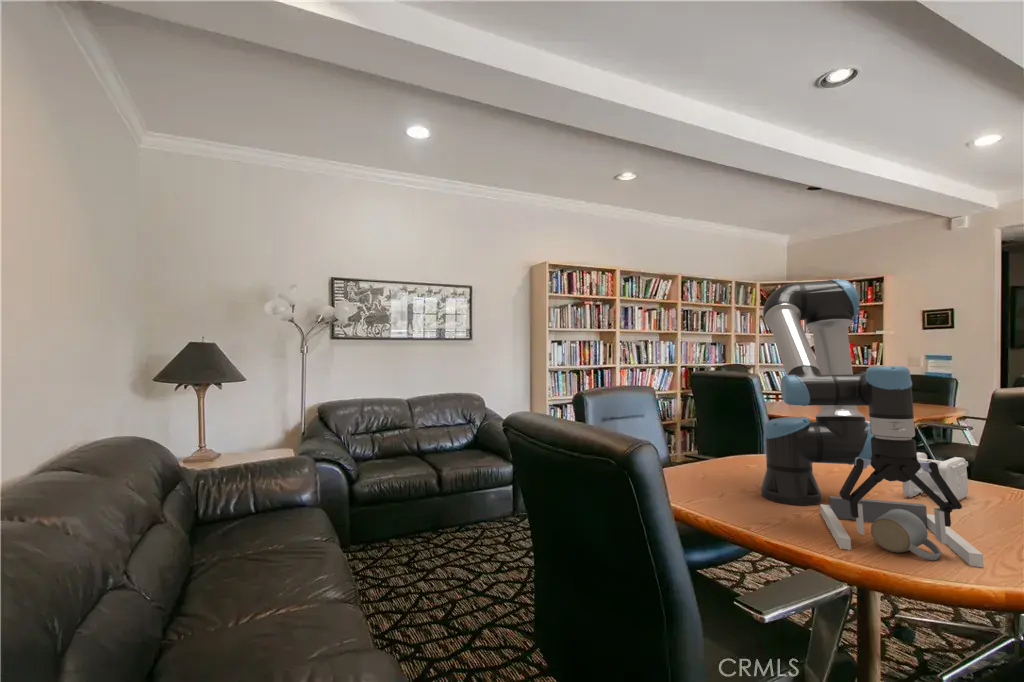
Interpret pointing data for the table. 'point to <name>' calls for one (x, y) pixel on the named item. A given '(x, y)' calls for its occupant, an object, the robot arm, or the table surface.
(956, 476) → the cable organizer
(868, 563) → the table surface
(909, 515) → the ceramic mug
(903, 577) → the table surface
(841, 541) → the guide track
